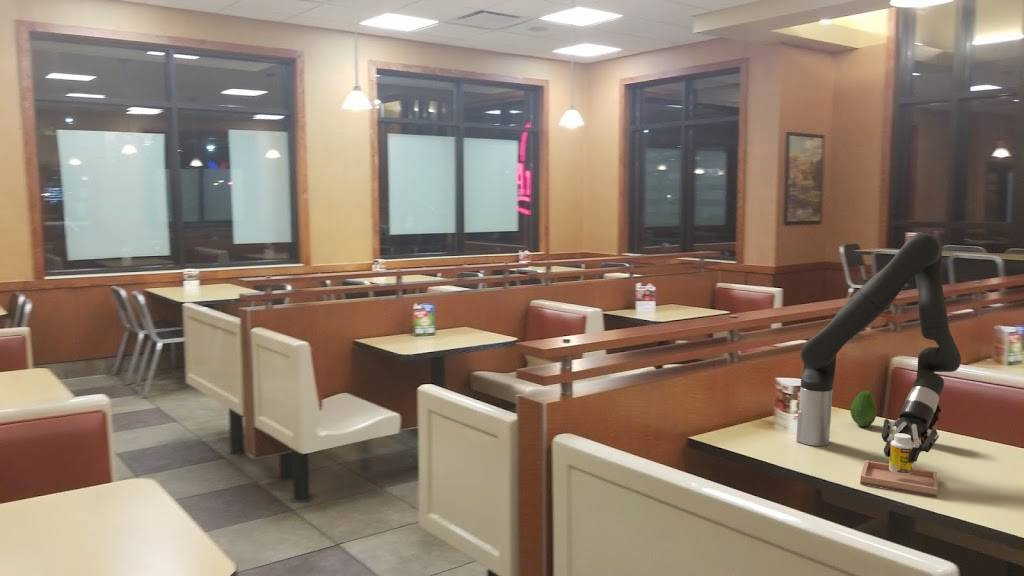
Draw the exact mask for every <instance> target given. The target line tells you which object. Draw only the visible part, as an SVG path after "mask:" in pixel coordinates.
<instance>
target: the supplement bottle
mask: <svg viewBox="0 0 1024 576" xmlns="http://www.w3.org/2000/svg"><path fill="white" fill-rule="evenodd" d="M914 447H915V446H914V444H913V443H912V442H911V436H910V435H907V434H902V433H897V434H895V436H894V440H893V441H891V446H890V457H889V462H888V464H889V470H890V471H891V472H893V473H895V474H899V475H909V474H911V472H912V468H913V463H910V462H909V460H908V459H909V456H910V453H911V451H912V449H913V448H914Z"/></svg>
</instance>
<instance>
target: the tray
mask: <svg viewBox="0 0 1024 576" xmlns="http://www.w3.org/2000/svg"><path fill="white" fill-rule="evenodd" d="M938 473H939V472H938V471H936V470H934V471H933V470H928V469H921V468H916V467H912V472H911V474H909V475H899V474H895V473H893V472H891V471H890V470H889V463H886V462H877V461H873V460H868V459H867V460H866V459H865V460H864V463H863V467H862V469H861V474H860V478H859V479H860V481H859V484H860V485H861V484H862V486H867V485H870V486H869V487H873V486H876V487H875V488H878V487H882V488H881V489H884V488H886V489H885V490H890V489H891V490H892V491H897V492H901V493H902V492H903V493H908V494H914V495H918V494H919V496H924V497H925V496H926V497H930V498H938V488H939V487H938V480H939V478H938Z"/></svg>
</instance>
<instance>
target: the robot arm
mask: <svg viewBox="0 0 1024 576" xmlns="http://www.w3.org/2000/svg"><path fill="white" fill-rule="evenodd" d="M943 248H944V247H943V244H942V242H941V240H940V239H939V238H938V237H936V236H935V235H933V234H930V233H917V234H914V235H912V236H910V237H909V238H908V239H907V240H906V242H905V243H904V244H903V245H902V246H901V248H900V249H899V251H897V252H896V254H895V255H894V257H892V259H891V260H890V261H889V262H888V263H887V264H886V265H885V266H884V267H883V268H882V269H881V270H880V271H878V272H877V273H876V274H875V275H873V276H872V277H871V278H870V279H869V280H868V281H866V282H865V283H864V284H863V285H862V286H860V288H859V289H858V290H857V291H856V292H855V293H853V295H852V296H850V298H849V299H848V300H847V301H846V302H845V304H844V305H843V306H842V307H841V308H840V309H839V310H838V312H837V313H836V314H835V316H834V317H833V318H832V319H831V321H830V322H829V323H827V325H826V326H825V327H824V328H823V329H821V330H820V331H819V332H818V333H816V334H815V335H814V336H813V337H811V338H809V339H808V340H807V341H805V343H803V345H802V346H801V349H800V350H801V351H800V358H801V361H802V362H803V370H802V374H801V378H800V388H799V389H800V392H799V407H798V409H799V410H798V411H797V419H796V420H797V422H796V423H797V424H796V441H795V442H798V443H802V444H804V445H806V446H807V445H808V446H813V447H815V446H816V447H823V446H828V445H829V444H830V438H831V437H830V435H831V434H830V433H831V423H832V422H831V418H832V402H833V387H834V386H833V385H834V382H835V376H836V366H837V365H836V363H837V354H838V352H840V350H841V349H842V348H843V347H844V345H846V344H847V343H848V342H849V341H850V340H851V339H853V337H855V336H856V335H857V334H859V333H860V332H862V331H863V330H864V329H866V328H867V327H868V326H869V325H870V324H872V323H873V322H874V321H875V320H876V319H877V318H878V317H880V316H881V315H882V314H883V313H884V312H885V311H886V310H887V308H889V306H890V305H892V303H894V301H895V299H896V298H897V296H898V295H899V294H900V293H901V291H902V290H903V288H904V287H905V285H907V284H908V282H910V281H911V280H912V279H913V278H914V277H916V281H917V295H918V296H917V298H918V300H917V301H918V305H917V306H918V317H919V325H920V331H921V336H922V337H923V338H924V339H926V340H930V341H933V342H935V343H936V344H937V346H936V347H935V346H933V347H931V346H930V347H929V346H928V347H926V348H923V349H922V350H921V351H920V352H919V354H918V356H917V370H916V378H915V380H914V383H913V385H912V387H911V390H910V391H909V392H908V395H907V397H906V399H905V402H904V404H903V406H902V409H901V411H900V414H899V416H898V418H897V419H896V420H895V421H892V420H889V419H888V418H886V419H885V418H884V421H883V425H882V431H881V438H882V440H883V442H884V443H886V444H885V446H884V448H883V453H884V455H885V457H886V458H890V446H891V441H893V440H894V436H895V434H897V433H902V434H907V435H910V436H911V440H913V441H914V444H913V445H914V448H913V449H912V451H911V453H910V456H909V459H908V460H909V462H910V463H912V464H914V463H916V462H917V461H918V458H919V456H920V453H922V452H925V453H929V452H930V450H931V449H932V448H933V446H934V445H935V443H936V441H938V439H939V434H938V433H939V432H938V431H937V429H936V430H930V429H928V427H929V425H930V422H931V420H932V417H933V415H934V413H935V411H936V408H937V404H938V405H939V400H940V397H941V394H942V392H943V390H944V387H945V380H944V378H943V377H942V376H941V375H939V374H937V373H952V372H956V371H958V369H959V368H960V366H961V362H962V359H961V358H962V357H961V353H960V351H959V348H958V347H957V344H956V343H955V342H956V341H955V340H954V338H953V335H952V333H951V331H950V325H949V318H948V312H947V306H946V301H945V295H944V289H943V281H942V261H943V260H942V258H943V252H944V251H943V250H944V249H943ZM894 427H895V428H896V429H894V431H893V432H892V433H891V431H892V430H893V428H894ZM927 433H928V434H927ZM926 434H927V435H928V437H927V439H926V440H925V442H924V443H923V445H921V439H920V438H921V437H922V436H924V435H926Z"/></svg>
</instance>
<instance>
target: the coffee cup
mask: <svg viewBox="0 0 1024 576" xmlns="http://www.w3.org/2000/svg"><path fill="white" fill-rule="evenodd" d="M940 412H942V409H941V408H940V406H939V403H938V404H937V408H936V411H935V413H934V415H933V417H932V420H931V422H930V425H929V427H928V429H930V430H936V431H937V428H938V425H939V424H938V423H939V415H940ZM927 434H928V433H927ZM927 434H926V435H924V436H922V437H921V438H920V439H921V445H923V443H924V442H925V440H926V439H927V437H928V435H927ZM911 443H912V444H913V445H914V441H913V440H911Z"/></svg>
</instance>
